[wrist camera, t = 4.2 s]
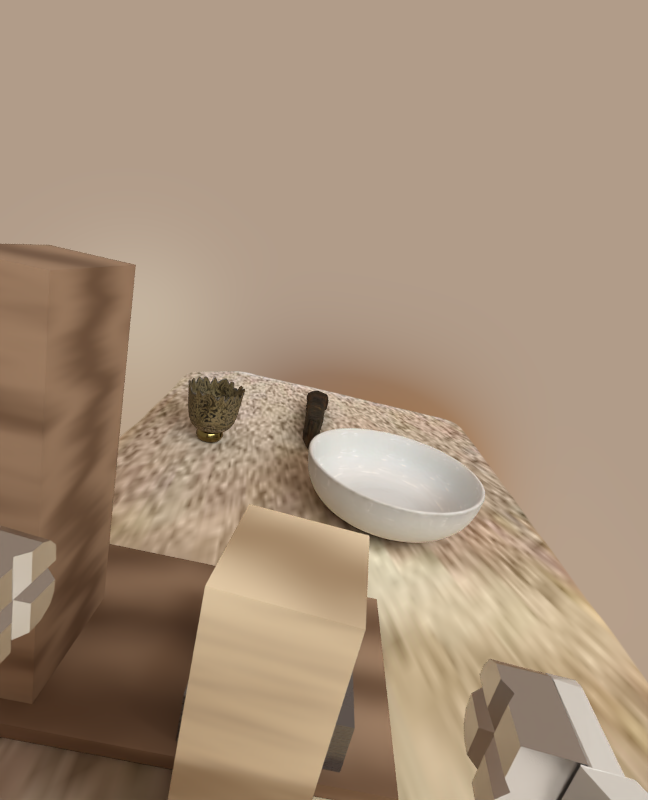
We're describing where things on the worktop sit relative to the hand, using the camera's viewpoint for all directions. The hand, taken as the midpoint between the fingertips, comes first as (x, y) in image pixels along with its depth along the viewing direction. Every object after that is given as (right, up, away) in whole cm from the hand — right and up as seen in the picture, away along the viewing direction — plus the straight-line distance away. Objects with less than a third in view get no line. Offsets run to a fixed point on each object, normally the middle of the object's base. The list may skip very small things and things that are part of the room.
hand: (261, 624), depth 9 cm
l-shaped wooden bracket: (-7, -14, +24) cm, 29 cm away
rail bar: (-4, -18, +13) cm, 23 cm away
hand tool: (0, -1, +70) cm, 70 cm away
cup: (-15, -1, +57) cm, 59 cm away
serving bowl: (+8, -10, +48) cm, 50 cm away
